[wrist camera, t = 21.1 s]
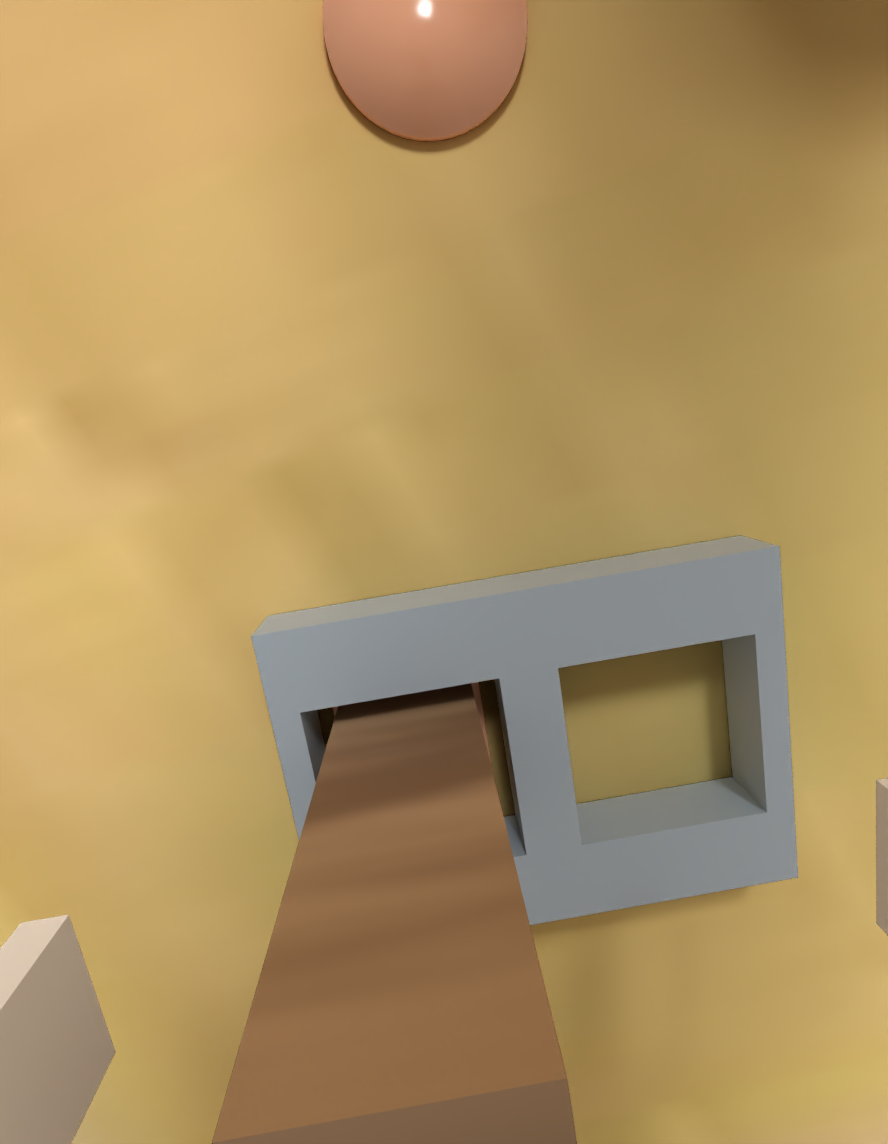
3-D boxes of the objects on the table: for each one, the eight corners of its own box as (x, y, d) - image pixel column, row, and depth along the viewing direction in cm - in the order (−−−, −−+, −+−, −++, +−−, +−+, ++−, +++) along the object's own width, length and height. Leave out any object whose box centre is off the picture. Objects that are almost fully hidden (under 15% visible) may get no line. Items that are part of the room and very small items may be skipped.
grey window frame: (268, 615, 18) (250, 636, 16) (740, 535, 19) (779, 546, 17) (335, 911, 20) (327, 961, 18) (761, 836, 21) (798, 877, 19)
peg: (338, 705, 19) (211, 1142, 7) (471, 682, 19) (566, 1077, 7) (363, 824, 20) (288, 1396, 8) (490, 802, 20) (605, 1336, 8)
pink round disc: (304, -75, 15) (303, -82, 15) (511, -107, 15) (512, -114, 15) (344, 155, 16) (344, 152, 16) (538, 125, 16) (539, 120, 16)
